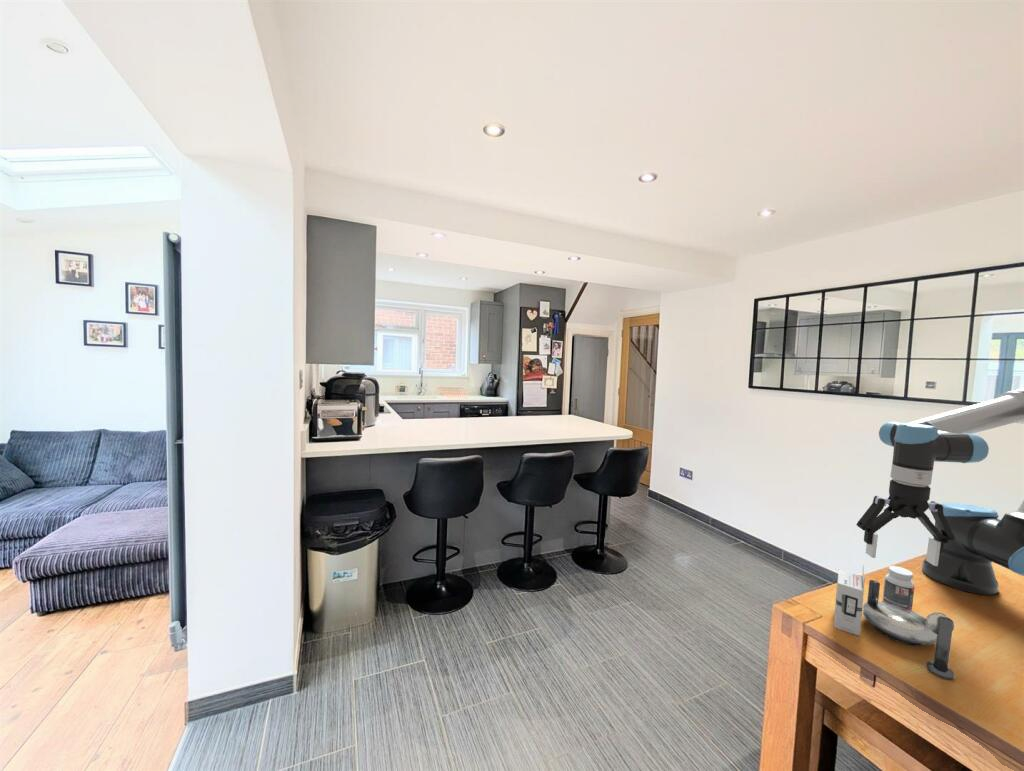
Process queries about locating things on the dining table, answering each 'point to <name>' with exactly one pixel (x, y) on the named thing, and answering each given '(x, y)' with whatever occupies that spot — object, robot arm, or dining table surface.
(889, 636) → the turntable base
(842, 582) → the ink box
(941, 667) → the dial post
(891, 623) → the silver round piece
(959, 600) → the dining table surface
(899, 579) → the pill bottle
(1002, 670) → the dining table surface
